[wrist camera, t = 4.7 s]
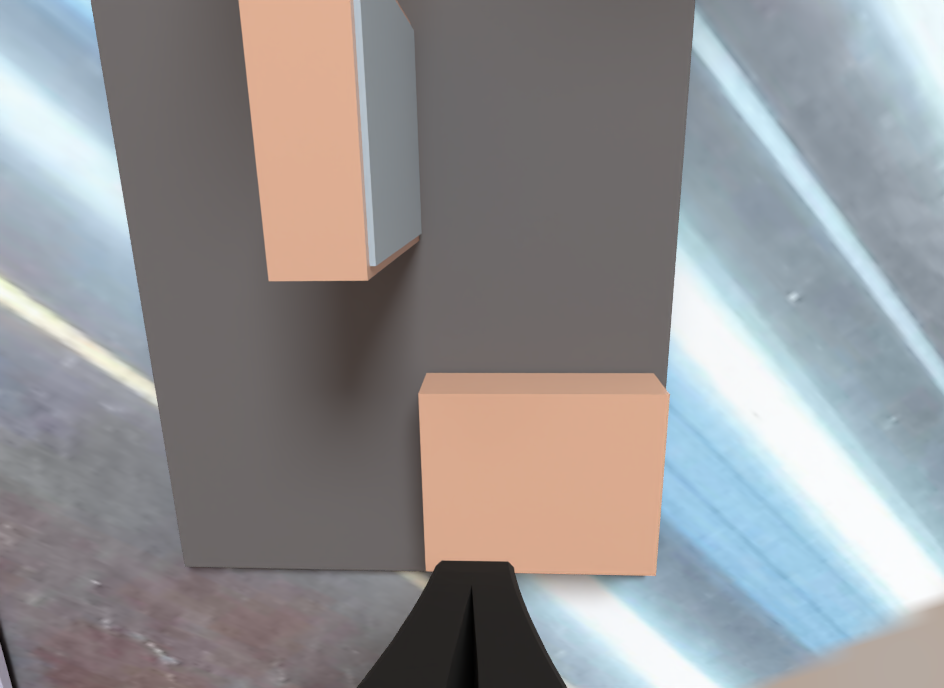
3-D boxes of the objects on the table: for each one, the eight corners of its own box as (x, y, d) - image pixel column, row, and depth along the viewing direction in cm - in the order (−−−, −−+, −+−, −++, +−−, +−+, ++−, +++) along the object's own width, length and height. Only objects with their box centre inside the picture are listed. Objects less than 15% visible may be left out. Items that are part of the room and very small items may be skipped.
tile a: (425, 571, 16) (655, 575, 16) (418, 393, 15) (669, 394, 14) (432, 534, 18) (641, 537, 17) (426, 371, 16) (652, 371, 16)
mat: (191, 558, 19) (184, 566, 18) (97, -22, 14) (86, -28, 14) (648, 567, 18) (651, 575, 18) (693, -43, 14) (699, -49, 13)
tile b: (356, 241, 15) (268, 281, 10) (342, 24, 14) (229, -80, 8) (423, 240, 15) (374, 280, 10) (414, 22, 14) (352, -85, 8)
